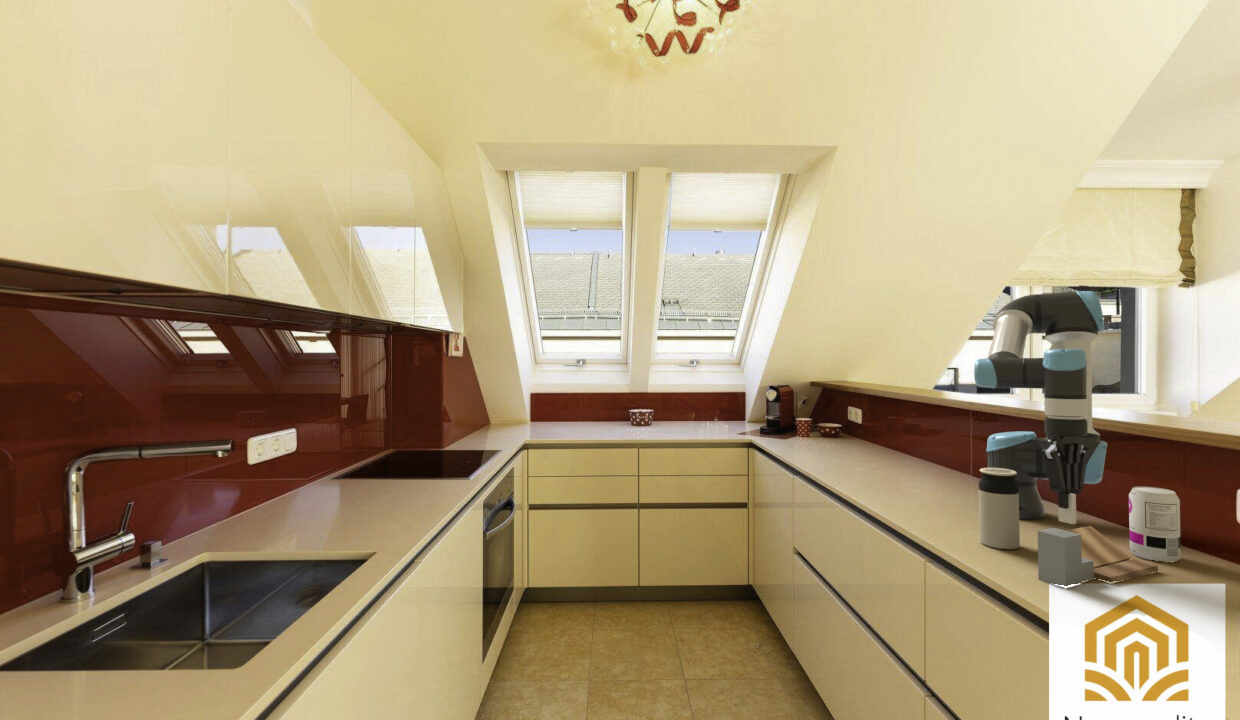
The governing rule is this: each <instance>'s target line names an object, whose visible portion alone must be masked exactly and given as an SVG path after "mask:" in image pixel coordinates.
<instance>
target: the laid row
mask: <svg viewBox="0 0 1240 720" xmlns="http://www.w3.org/2000/svg"><path fill="white" fill-rule="evenodd" d="M1155 571H1158V572H1159V565H1158V564H1154V563H1151V562H1148V561H1143V560H1140V559H1136V558H1131V559H1130V560H1128V561H1124V562H1120V563H1116V564H1112V565H1107V566H1103V567H1099V568H1095V569H1094V578H1096V579H1101V580H1105V581H1109V582H1113V581H1121V580H1126V581H1129V579H1130V580H1133V579H1137V578H1140V576H1141V577H1145V576H1148V575H1147V574H1149V575H1151V574H1150V573H1152V572H1155ZM1152 574H1153V573H1152ZM1144 575H1145V576H1144ZM1136 577H1137V578H1136ZM1132 578H1133V579H1132Z"/></svg>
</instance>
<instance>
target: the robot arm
mask: <svg viewBox="0 0 1240 720" xmlns="http://www.w3.org/2000/svg"><path fill="white" fill-rule="evenodd" d="M992 329H993V331H994V333H993V336H992V337H993V338H992V340H991V345H990V347H989V351H988V355H987V357H985V358H978V359H976V360H975V362H974V366H973V367H974V368H973V369H974V370H973V372H974V373H973V377H974V383H975V385H976V386H977V387H979V388H987V389H988V388H990V389H1040V390H1041V389H1043V391H1044V393H1043V395H1044V396H1043V397H1044V401H1043V405H1044V415H1045V416H1047V417H1045V418H1044V421H1043V422H1044V432H1045V437H1037V436H1038V435H1037V434H1036V432H1034V431H1024V430H1023V431H1005V432H998V433H993V434H991V435H989V436H988V438H987V441H986V442H987V443H986V449H985V450H986V455H987V456H986V457H987V458H986V461H987V463H986V464H987V468H1002V469H1009V470H1013V471H1016V472H1017V475H1016V476H1015V481H1016V483H1017V484H1018V486H1019V520H1020V519H1021V520H1038V519H1039V520H1040V519H1043V518H1045V517H1046V508H1045V506H1044V503H1043V500H1042V497H1041V495H1040V493H1039V490H1038V486H1037V483H1038V482H1037V480H1046V481H1048V483H1049V489H1050V491H1052V493H1053V492H1054V493H1057V500H1058V501H1057V505H1058V507H1057V509H1058V512H1057V513H1058V522H1062V523H1065V524H1070V525H1075V524H1076V525H1077V494H1078V495H1082V493H1083V491H1082V490H1083V489H1084V485H1085V484H1089V485H1090V484H1091V485H1095V484H1098V483H1099V484H1100V482H1101V481H1102V480H1103V474H1104V469H1105V463H1106V462H1105V461H1106V456H1107V448H1108V443H1107V442H1106V441H1104V440H1101V434H1100V433H1099V431H1098V432H1097V431H1096V430H1095V429H1094V428H1093V396H1092V395H1093V394H1092V393H1093V388H1092V386H1093V384H1092V345H1091V344H1092V343H1093V342H1094V341H1096V340H1097V339H1098V338H1099V333H1101V332H1103V331H1104V330H1105V322H1104V316H1103V309H1102V304H1101V301H1100V297H1099V295H1098V294H1097V293H1096V292H1095V291H1092V290H1074V291H1067V292H1066V291H1065V292H1064V291H1063V292H1053V293H1051V292H1050V293H1039V294H1038V293H1034V294H1028V295H1024V296H1021V297H1019V298H1016V299H1014V300H1012V301H1010V302H1009V303H1007V304H1006V305H1004V306H1003V307H1002V308H1000V309H999V310H998V312H997V313H996V314H995V316H994V318H993V321H992ZM1029 334H1032V335H1033V334H1045V335H1044V339H1045V340H1046V341H1047V342H1049V343H1050V344H1051V348H1049V349H1046V350H1044V352H1043V357H1024V353H1025V348H1026V347H1025V346H1026V341H1027V337H1028V335H1029Z"/></svg>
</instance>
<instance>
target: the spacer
mask: <svg viewBox="0 0 1240 720" xmlns="http://www.w3.org/2000/svg"><path fill="white" fill-rule="evenodd" d="M1037 557H1038V558H1037V563H1038V565H1037V566H1038V567H1037V568H1038V580H1039V581H1043V582H1045V583H1048V584H1051V583H1053V584H1058V585H1064V586H1068V585H1071V584H1078V583H1082V581H1086V580H1091V579H1094V564H1093V560H1090V559H1086V558H1083V557H1082V551H1081V534H1077V533H1073V532H1069V531H1066V530H1064V529H1062V528H1057V527H1049V528H1044V529H1039V530H1038V529H1037ZM1094 580H1095V579H1094ZM1053 584H1052V585H1053ZM1082 584H1083V583H1082Z"/></svg>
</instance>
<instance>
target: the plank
mask: <svg viewBox="0 0 1240 720" xmlns="http://www.w3.org/2000/svg"><path fill="white" fill-rule="evenodd" d="M1065 531H1069V532H1073V533H1077V534H1081V551H1082V557H1083V558H1086V559H1090V560H1093V564H1094V569H1095V568H1099V567H1103V566H1107V565H1112V564H1116V563H1120V562H1124V561H1128V560H1132V557H1131V556H1130V555H1129V554H1128V553H1126V552H1124V551H1123V550H1122V549H1121V548H1120V547H1118V546H1117V545H1115V543H1113V542H1112V541H1111V540H1109V539H1108V538H1107V537H1106V536H1104V535H1103V534H1102V533H1100V532H1099V531H1098V530H1097V529H1095V528H1094V527H1093V526H1091V525H1087V526H1082V527H1078V528H1071V529H1067V530H1065Z"/></svg>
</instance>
